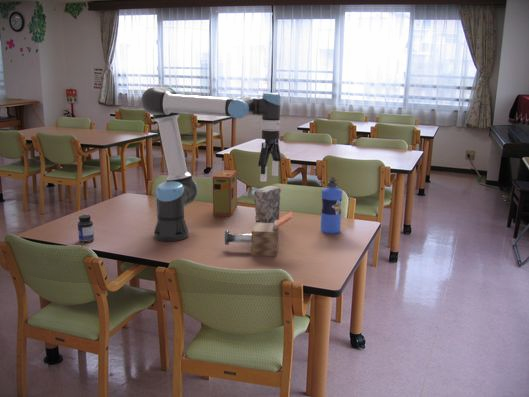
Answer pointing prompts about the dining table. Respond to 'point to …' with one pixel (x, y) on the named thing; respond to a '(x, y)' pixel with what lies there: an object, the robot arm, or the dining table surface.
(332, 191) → the water bottle
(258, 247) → the block
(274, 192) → the stone block
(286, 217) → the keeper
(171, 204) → the robot arm
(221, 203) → the box
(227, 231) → the pin
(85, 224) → the pill bottle
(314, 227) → the dining table surface
